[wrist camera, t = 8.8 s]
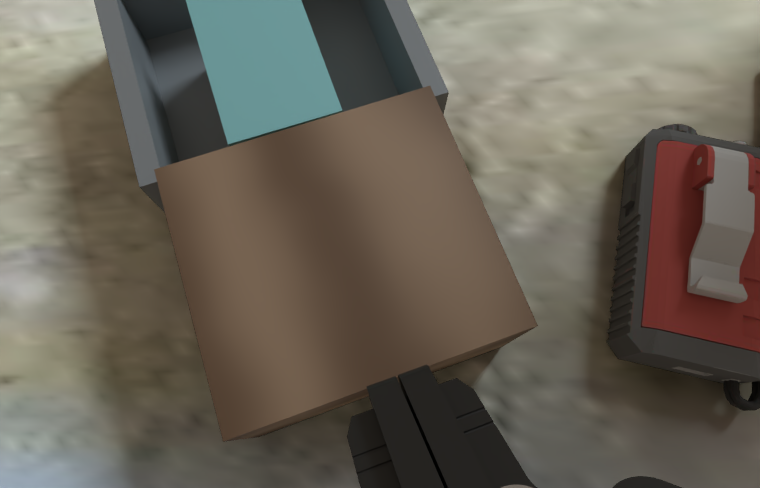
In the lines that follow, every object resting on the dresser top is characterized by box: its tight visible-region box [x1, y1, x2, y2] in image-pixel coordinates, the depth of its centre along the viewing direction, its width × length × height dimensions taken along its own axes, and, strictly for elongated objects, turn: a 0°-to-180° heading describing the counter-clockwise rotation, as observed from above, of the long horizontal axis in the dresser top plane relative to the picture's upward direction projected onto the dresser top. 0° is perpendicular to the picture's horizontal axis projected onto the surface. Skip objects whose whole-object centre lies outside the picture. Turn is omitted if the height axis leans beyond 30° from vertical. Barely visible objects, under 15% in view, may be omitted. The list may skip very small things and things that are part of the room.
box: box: [94, 0, 448, 212], centre depth 28 cm, size 14×12×5 cm
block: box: [186, 0, 343, 146], centre depth 27 cm, size 5×5×8 cm
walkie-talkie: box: [607, 124, 760, 410], centre depth 27 cm, size 9×4×20 cm
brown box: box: [154, 86, 538, 442], centre depth 24 cm, size 12×11×6 cm
